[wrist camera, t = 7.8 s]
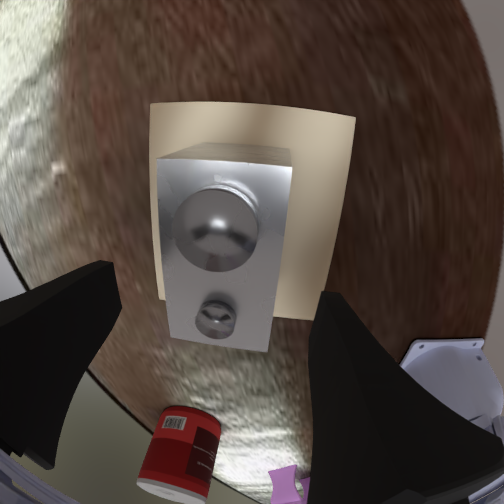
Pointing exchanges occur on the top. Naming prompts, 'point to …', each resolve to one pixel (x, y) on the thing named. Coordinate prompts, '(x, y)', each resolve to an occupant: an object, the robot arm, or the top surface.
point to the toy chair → (287, 486)
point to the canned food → (181, 456)
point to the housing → (222, 240)
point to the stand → (301, 189)
